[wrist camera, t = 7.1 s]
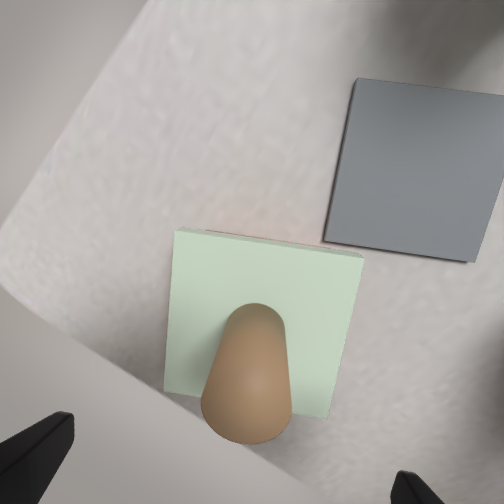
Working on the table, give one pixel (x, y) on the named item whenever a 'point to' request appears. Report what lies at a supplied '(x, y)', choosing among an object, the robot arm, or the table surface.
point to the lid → (257, 329)
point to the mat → (418, 169)
